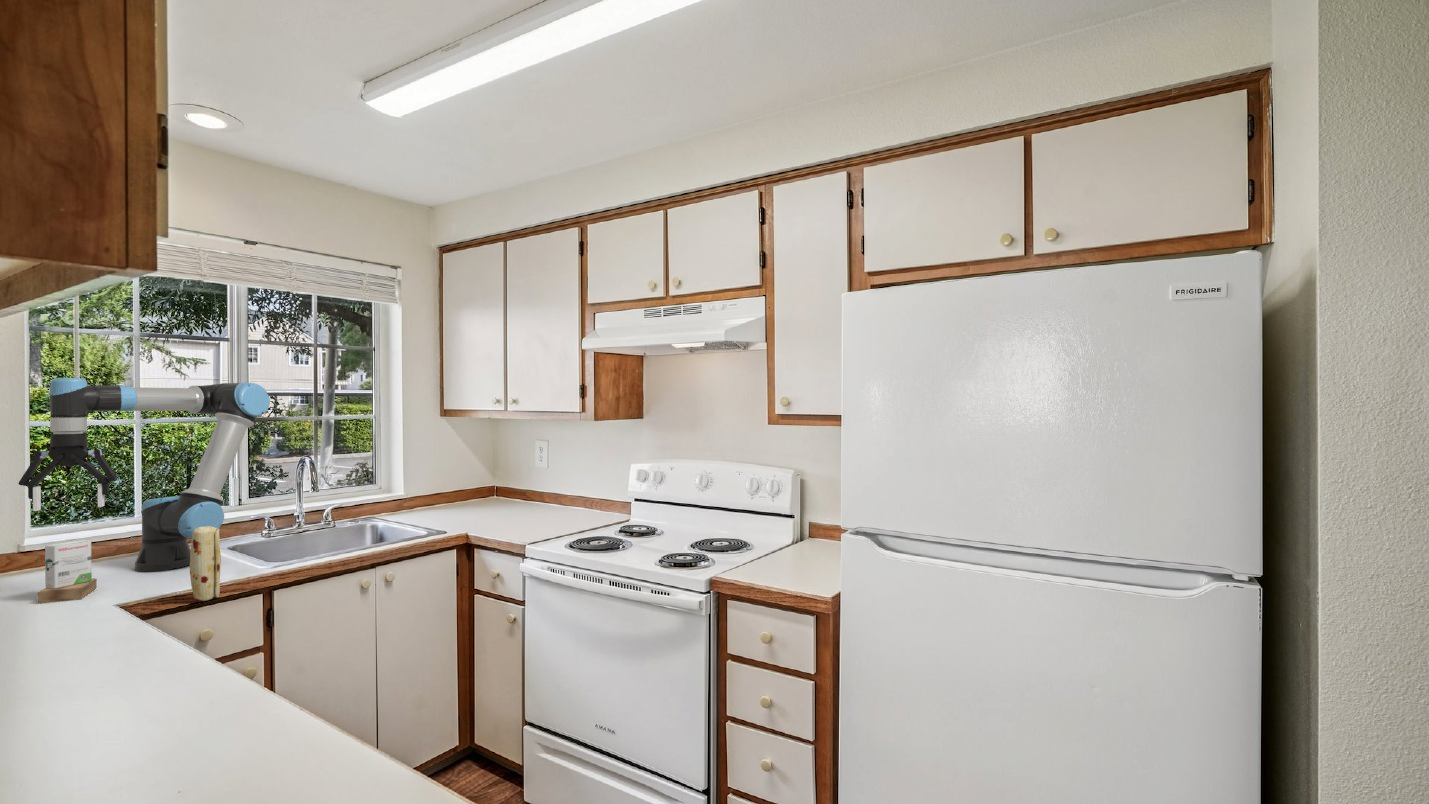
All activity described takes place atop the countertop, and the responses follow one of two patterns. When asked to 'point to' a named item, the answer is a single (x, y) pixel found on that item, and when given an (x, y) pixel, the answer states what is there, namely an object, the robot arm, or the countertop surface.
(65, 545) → the ink box
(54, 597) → the base
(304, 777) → the countertop surface
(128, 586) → the countertop surface
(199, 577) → the food model
